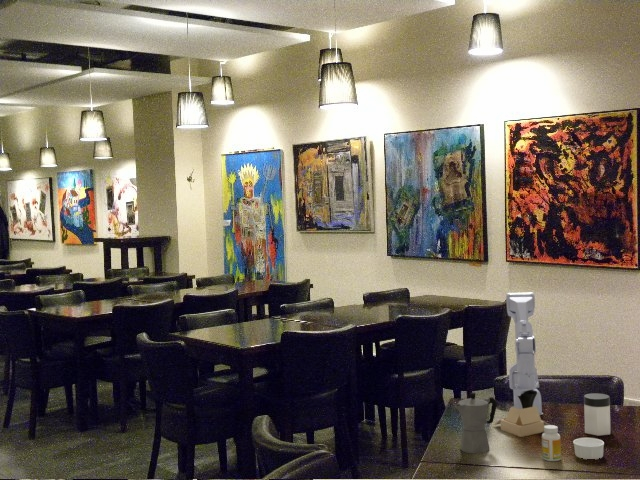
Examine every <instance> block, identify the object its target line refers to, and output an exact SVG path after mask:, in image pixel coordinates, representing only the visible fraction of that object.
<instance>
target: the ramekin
mask: <svg viewBox="0 0 640 480" xmlns="http://www.w3.org/2000/svg"><path fill="white" fill-rule="evenodd" d="M572 443H573V446H574V447H573V448H574V454H575V455H574V456H576V457H577V458H579V459H581V458H583V459H582V460H587V459H595V460H599V458H600V459H602V458H603V456H604V446H605V442H604V441H603V440H602V439H599V438H596V437H579V438H576V439H574V440H573V441H572Z"/></svg>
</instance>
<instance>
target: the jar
mask: <svg viewBox="0 0 640 480" xmlns="http://www.w3.org/2000/svg"><path fill="white" fill-rule="evenodd" d="M583 404H584V405H583V406H584V409H583V410H584V411H583V412H584V413H583V414H584V433H585V434H588V435H592V436H608V435H611V396H610V395H608V394H605V393H598V392H597V393H596V392H595V393H593V392H592V393H586V394H584V395H583Z"/></svg>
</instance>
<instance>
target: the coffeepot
mask: <svg viewBox="0 0 640 480" xmlns="http://www.w3.org/2000/svg"><path fill="white" fill-rule="evenodd" d="M469 394H470V398H465V399H461V400H459V401H458V403H457V404H455V405H454V408H456V409H457V410H458V412H459V414H460V418H461V423H462V425H463V428H462V431H461V439H460V446H459V447H460V450H461V451H462V452H463V453H466V454H471V455H472V454H475V455H476V454H479V455H480V454H484V453H488V452H489V451H490V444H489V439H488V434H487V429H486V427H485V426H486V424H488V425H489V424H492V423H494V422H493V421H494V419H495V416H496V411H497V406H498V401H497V400H496V399H495V398H494V397H492V396H491V397H484V398H482V399H480V398H476V392H470V393H469ZM490 404H491V407H490V408H491V409H490V413H489V420H487V418H488V417H487V416H488V408H489V405H490Z"/></svg>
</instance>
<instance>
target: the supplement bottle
mask: <svg viewBox="0 0 640 480" xmlns="http://www.w3.org/2000/svg"><path fill="white" fill-rule="evenodd" d="M558 429H559V427H558V426H557V425H553V424H549V425H544V432H542V434H541V451H542V453H541V455H542V457H541V458H542V459H543V460H545V461H547V462H558V461H561V459H562V446H561V444H562V443H561V435H560V433H558V432H559V430H558Z"/></svg>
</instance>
